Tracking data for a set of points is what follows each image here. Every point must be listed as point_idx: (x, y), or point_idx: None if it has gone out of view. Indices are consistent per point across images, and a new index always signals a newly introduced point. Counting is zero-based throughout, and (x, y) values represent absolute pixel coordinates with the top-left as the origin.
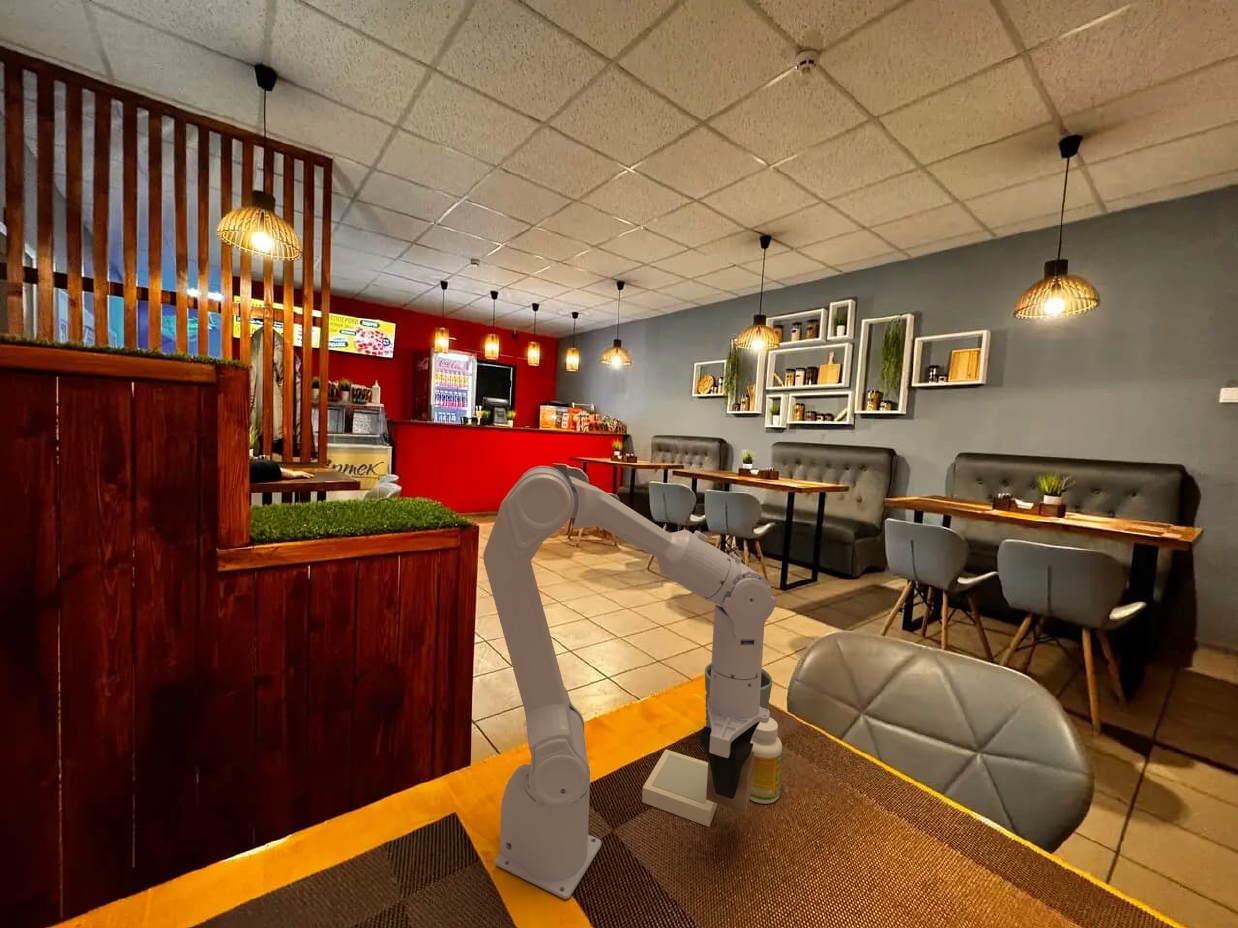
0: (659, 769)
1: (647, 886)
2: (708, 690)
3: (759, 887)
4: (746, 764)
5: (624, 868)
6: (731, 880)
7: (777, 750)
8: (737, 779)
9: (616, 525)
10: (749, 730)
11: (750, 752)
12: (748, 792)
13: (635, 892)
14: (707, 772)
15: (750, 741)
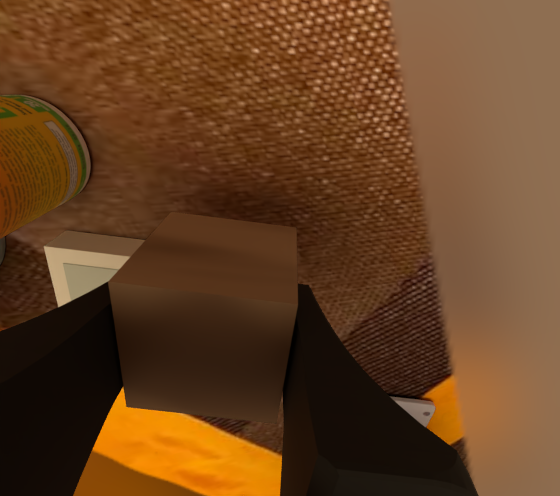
0: None
1: (386, 321)
2: None
3: (339, 141)
4: (223, 309)
5: (362, 354)
6: (338, 197)
7: None
8: (335, 333)
9: None
10: (41, 386)
11: (450, 474)
12: (251, 240)
13: (401, 334)
14: (91, 284)
15: (58, 314)
